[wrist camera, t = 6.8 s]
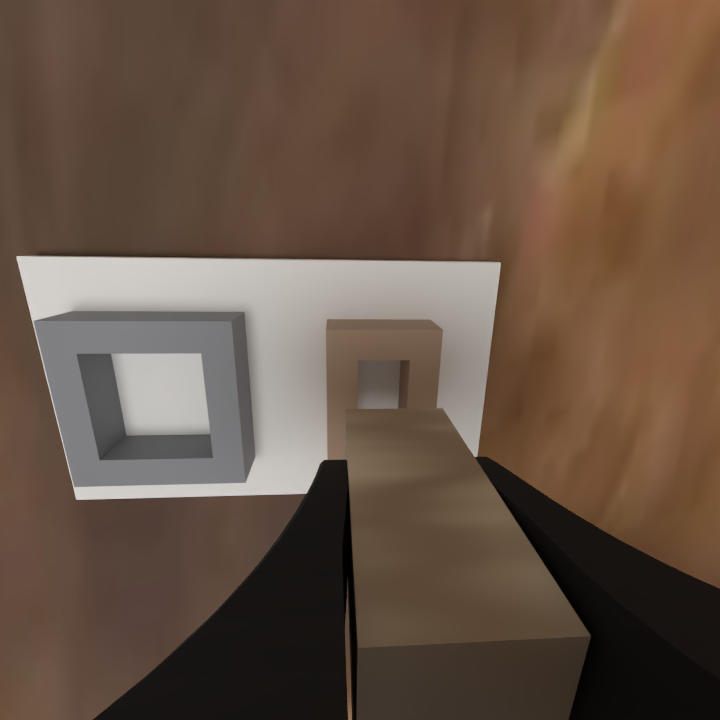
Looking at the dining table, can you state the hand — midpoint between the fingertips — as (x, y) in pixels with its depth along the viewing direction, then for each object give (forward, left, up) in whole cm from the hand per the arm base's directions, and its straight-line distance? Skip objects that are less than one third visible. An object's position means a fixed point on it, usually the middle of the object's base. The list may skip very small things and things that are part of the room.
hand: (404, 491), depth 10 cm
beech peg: (0, 0, -2) cm, 2 cm away
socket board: (+4, 0, -8) cm, 9 cm away
